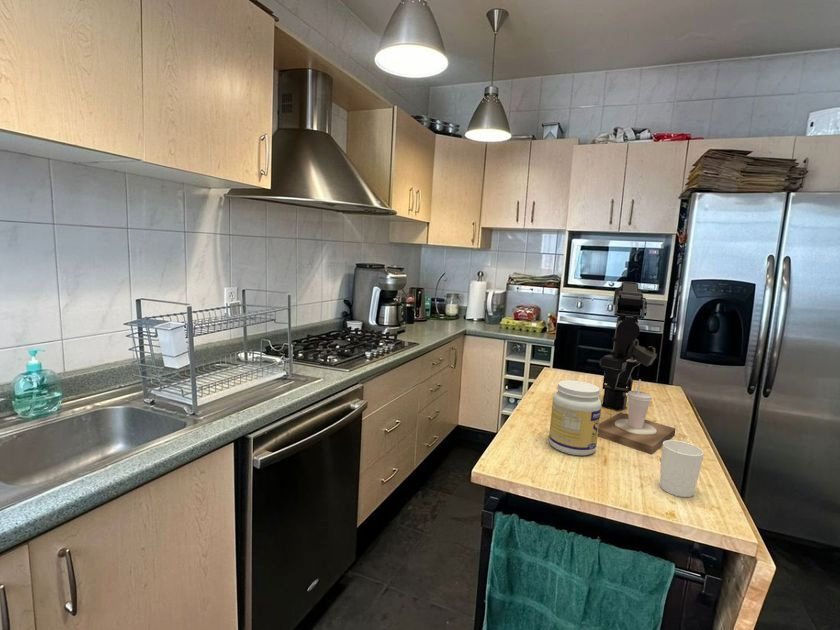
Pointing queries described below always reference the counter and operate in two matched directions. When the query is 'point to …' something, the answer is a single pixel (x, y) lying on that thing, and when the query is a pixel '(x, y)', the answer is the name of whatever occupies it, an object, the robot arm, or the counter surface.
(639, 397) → the smoothie
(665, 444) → the white cup
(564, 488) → the counter surface
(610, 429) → the walnut base
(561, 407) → the supplement tub
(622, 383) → the robot arm
